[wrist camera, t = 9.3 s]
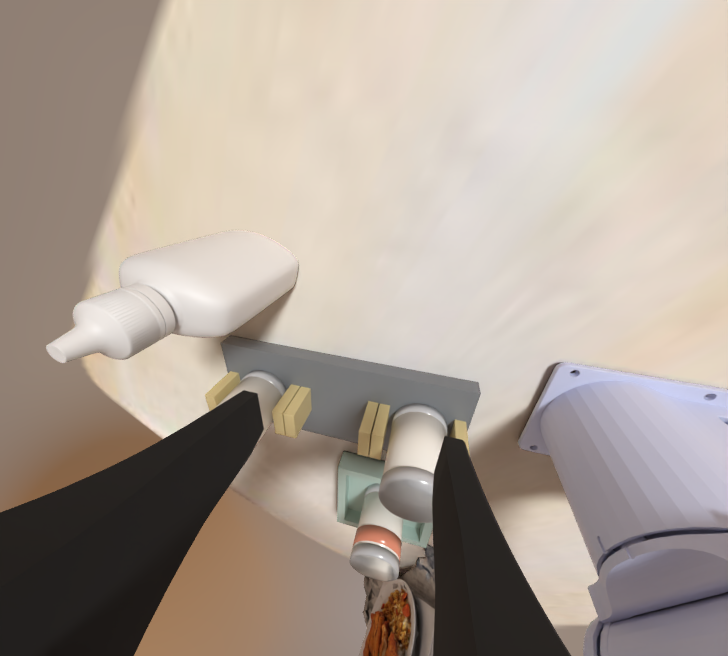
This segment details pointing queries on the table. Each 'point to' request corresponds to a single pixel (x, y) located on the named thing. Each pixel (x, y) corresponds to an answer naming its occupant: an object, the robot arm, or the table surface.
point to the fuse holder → (344, 393)
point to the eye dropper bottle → (181, 295)
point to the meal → (401, 612)
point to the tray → (351, 493)
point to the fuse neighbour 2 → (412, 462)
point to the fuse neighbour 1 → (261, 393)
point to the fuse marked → (377, 539)
